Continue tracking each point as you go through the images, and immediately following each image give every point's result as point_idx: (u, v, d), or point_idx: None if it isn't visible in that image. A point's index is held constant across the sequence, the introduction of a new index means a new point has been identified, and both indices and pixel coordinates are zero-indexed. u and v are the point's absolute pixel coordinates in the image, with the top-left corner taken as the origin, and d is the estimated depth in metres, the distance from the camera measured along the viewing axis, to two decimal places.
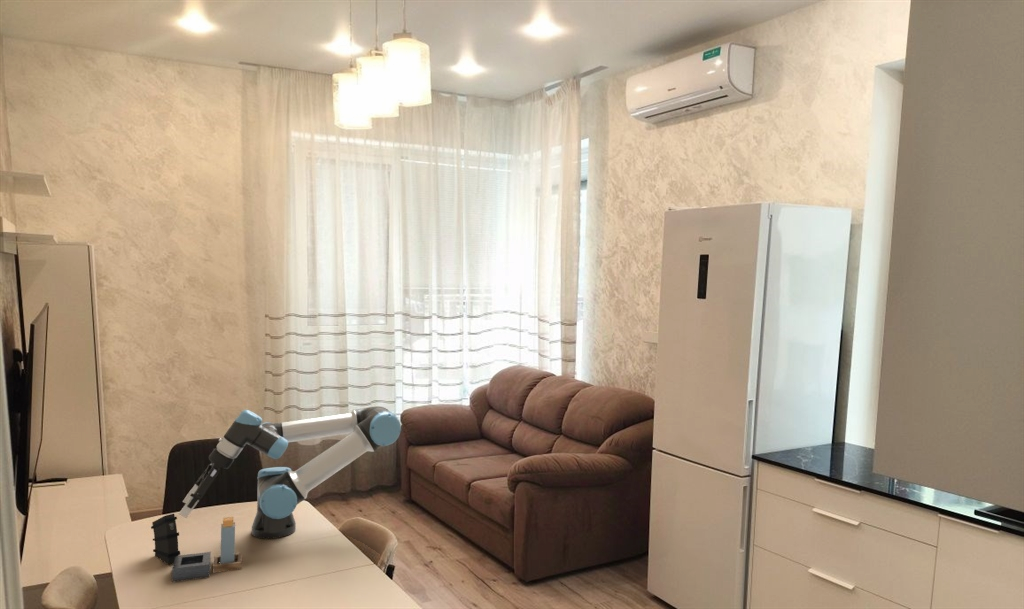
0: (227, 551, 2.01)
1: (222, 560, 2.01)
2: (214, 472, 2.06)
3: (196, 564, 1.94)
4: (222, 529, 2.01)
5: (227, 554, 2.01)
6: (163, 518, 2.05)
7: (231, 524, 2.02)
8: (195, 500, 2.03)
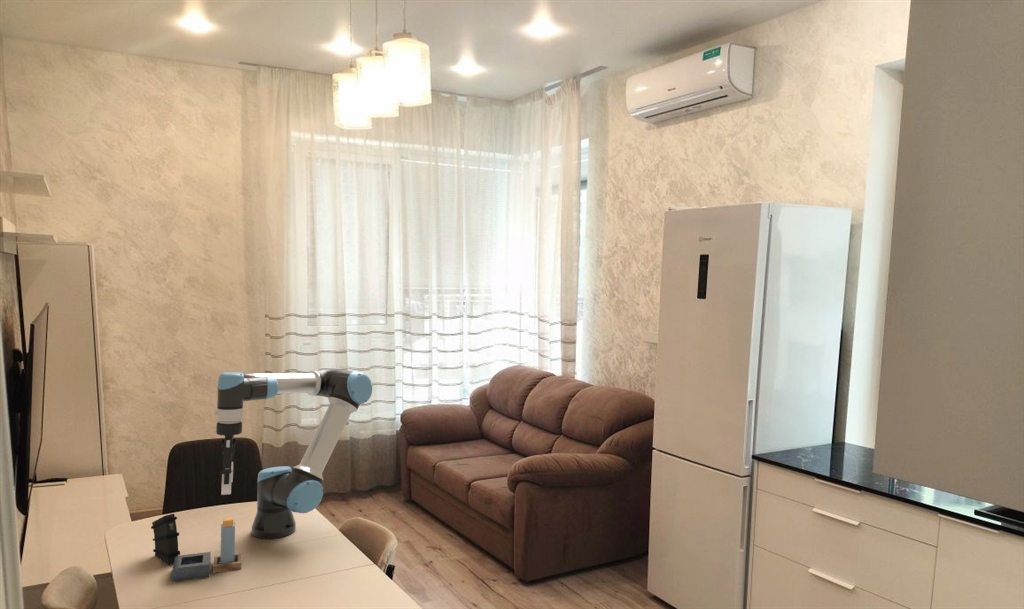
0: (227, 551, 2.01)
1: (222, 560, 2.01)
2: (228, 442, 1.97)
3: (196, 564, 1.94)
4: (222, 529, 2.01)
5: (227, 554, 2.01)
6: (163, 518, 2.05)
7: (231, 524, 2.02)
8: (227, 475, 1.96)
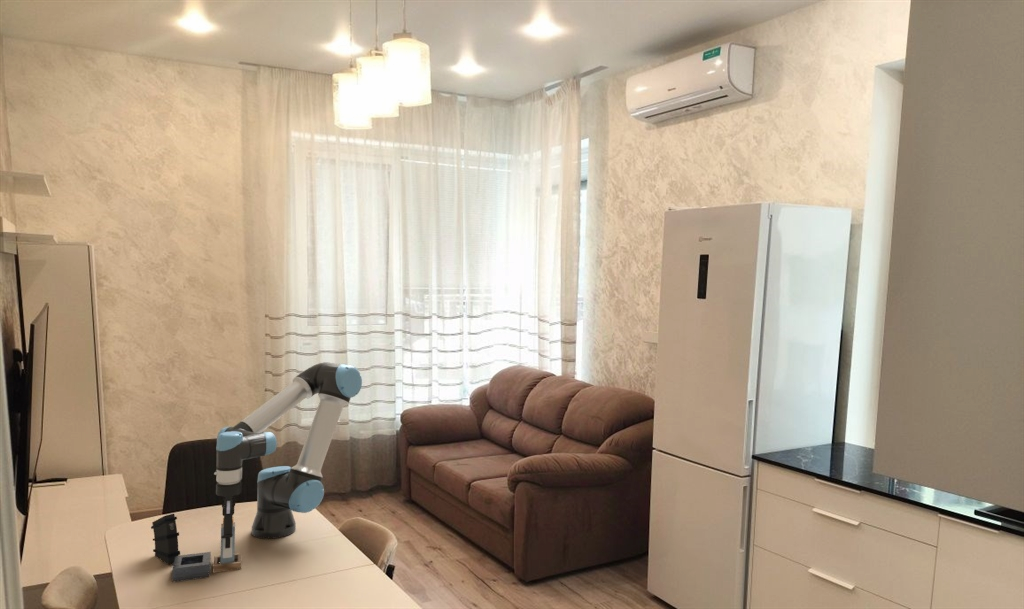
0: None
1: (222, 560, 2.01)
2: (228, 510, 1.97)
3: (196, 564, 1.94)
4: (222, 529, 2.01)
5: None
6: (163, 518, 2.05)
7: None
8: (228, 539, 2.00)
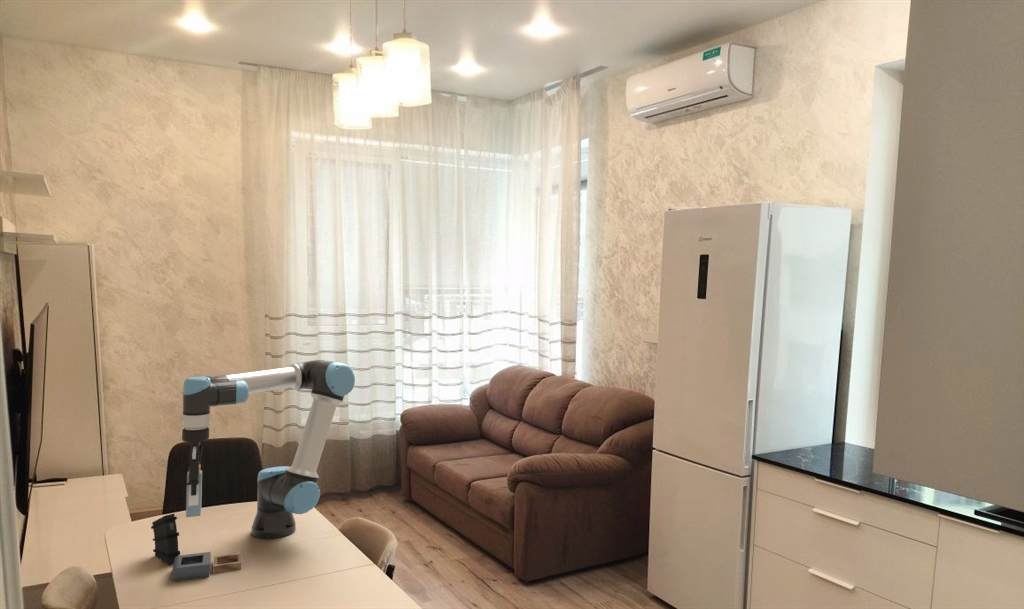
0: None
1: (188, 508, 1.95)
2: (194, 455, 1.91)
3: (196, 564, 1.94)
4: (188, 476, 1.95)
5: None
6: (163, 518, 2.05)
7: None
8: (194, 486, 1.94)
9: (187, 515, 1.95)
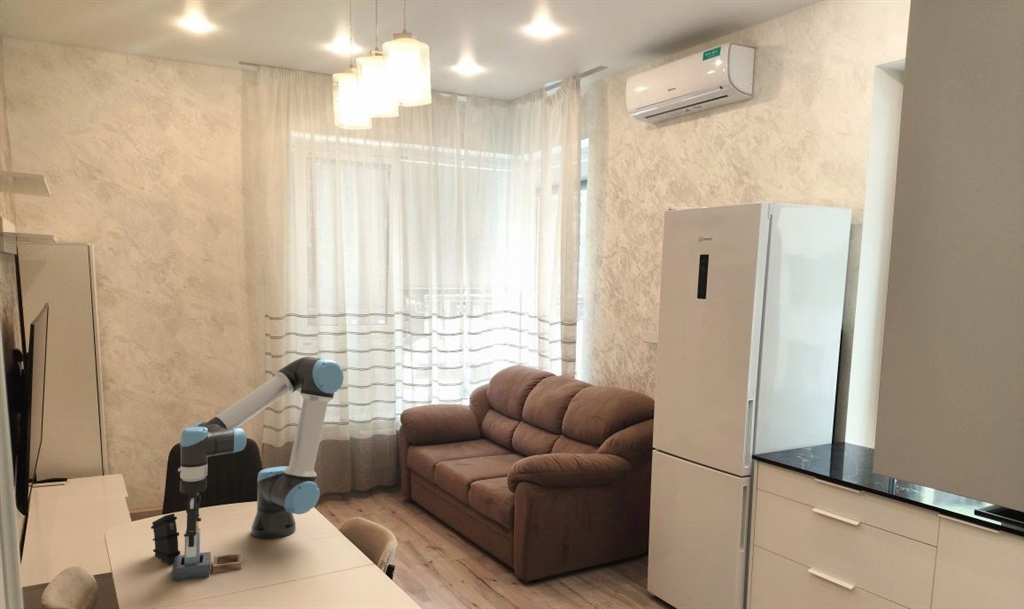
0: (191, 558, 1.96)
1: None
2: (192, 504, 1.91)
3: (196, 564, 1.94)
4: None
5: (191, 560, 1.96)
6: (163, 518, 2.05)
7: None
8: (192, 537, 1.91)
9: None
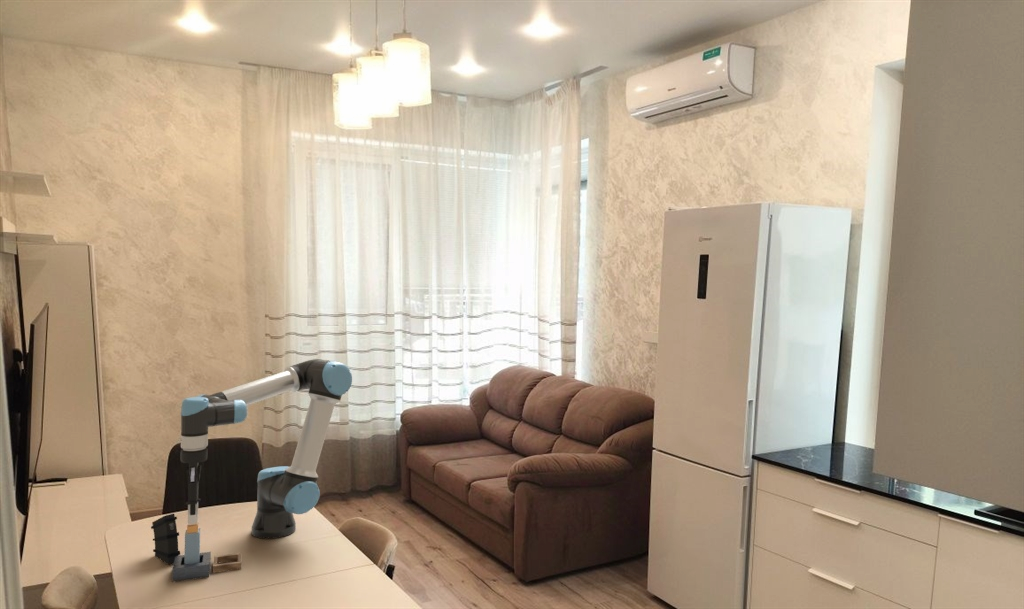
0: (191, 558, 1.96)
1: None
2: (192, 478, 1.91)
3: (196, 564, 1.94)
4: (186, 535, 1.95)
5: (191, 560, 1.96)
6: (163, 518, 2.05)
7: (195, 530, 1.96)
8: (193, 505, 1.96)
9: None
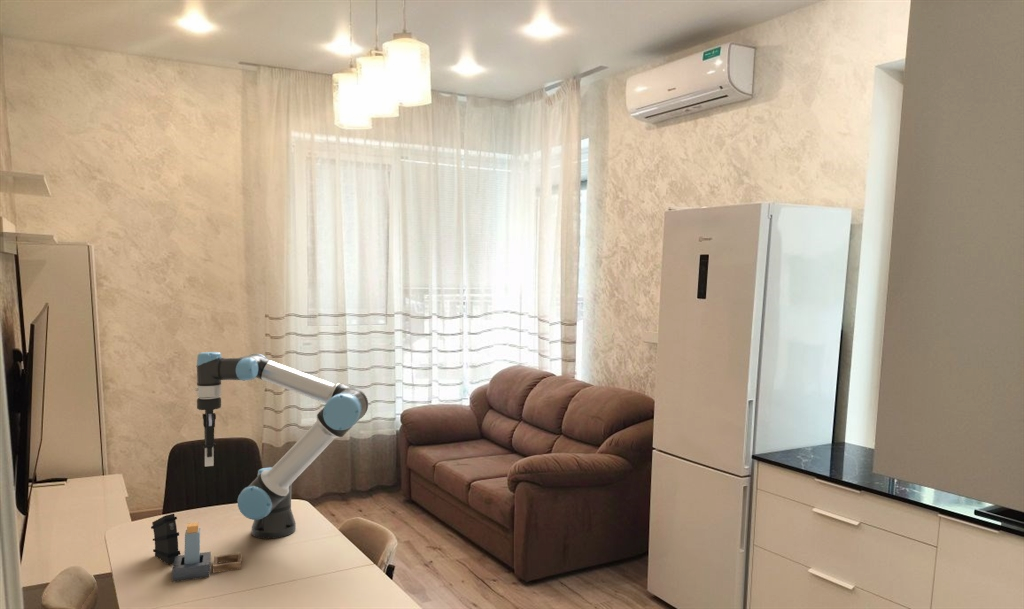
0: (191, 558, 1.96)
1: None
2: (210, 423, 2.14)
3: (196, 564, 1.94)
4: (186, 535, 1.95)
5: (191, 560, 1.96)
6: (163, 518, 2.05)
7: (195, 530, 1.96)
8: (210, 448, 2.18)
9: None
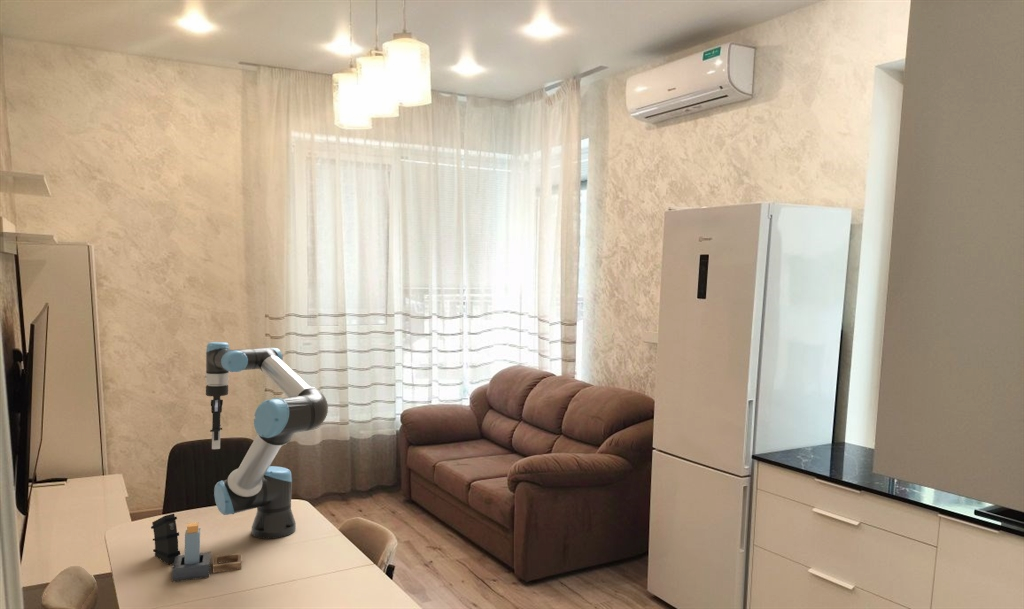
0: (191, 558, 1.96)
1: None
2: (216, 408, 2.28)
3: (196, 564, 1.94)
4: (186, 535, 1.95)
5: (191, 560, 1.96)
6: (163, 518, 2.05)
7: (195, 530, 1.96)
8: (216, 432, 2.32)
9: None
